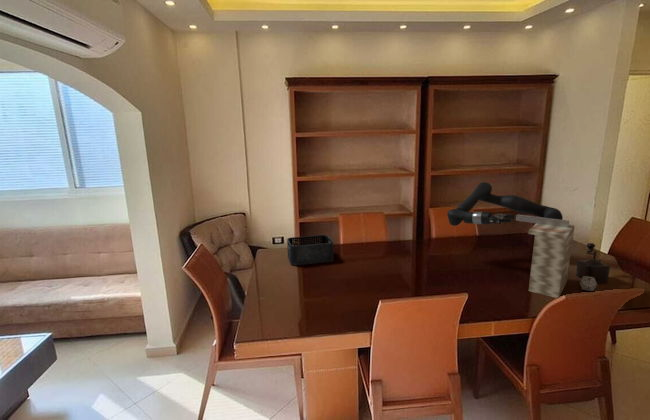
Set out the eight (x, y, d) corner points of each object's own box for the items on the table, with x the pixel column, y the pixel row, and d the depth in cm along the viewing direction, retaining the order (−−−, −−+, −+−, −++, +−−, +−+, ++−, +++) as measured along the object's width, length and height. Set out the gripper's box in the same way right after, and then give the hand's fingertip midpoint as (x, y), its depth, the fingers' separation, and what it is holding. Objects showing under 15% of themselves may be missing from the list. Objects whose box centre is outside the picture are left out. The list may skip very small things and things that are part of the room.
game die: (581, 296, 180) (570, 277, 183) (597, 290, 179) (586, 272, 183) (589, 295, 172) (578, 275, 175) (606, 289, 171) (595, 270, 174)
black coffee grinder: (609, 283, 186) (614, 251, 182) (588, 283, 186) (593, 251, 182) (587, 271, 201) (592, 241, 197) (568, 272, 201) (572, 242, 197)
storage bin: (327, 252, 244) (327, 233, 241) (335, 261, 226) (334, 242, 223) (287, 256, 237) (286, 237, 234) (291, 266, 219) (290, 246, 216)
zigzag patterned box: (522, 289, 181) (528, 229, 174) (533, 274, 198) (539, 220, 191) (558, 298, 171) (566, 235, 163) (566, 282, 188) (574, 224, 181)
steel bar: (515, 220, 192) (516, 215, 192) (517, 219, 195) (517, 214, 194) (567, 227, 177) (568, 221, 176) (568, 226, 179) (569, 220, 178)
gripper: (478, 214, 200) (509, 215, 190) (485, 209, 211) (514, 209, 201) (478, 227, 202) (509, 228, 191) (485, 221, 212) (515, 221, 202)
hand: (512, 218), depth 196 cm, fingers open, 8 cm apart
